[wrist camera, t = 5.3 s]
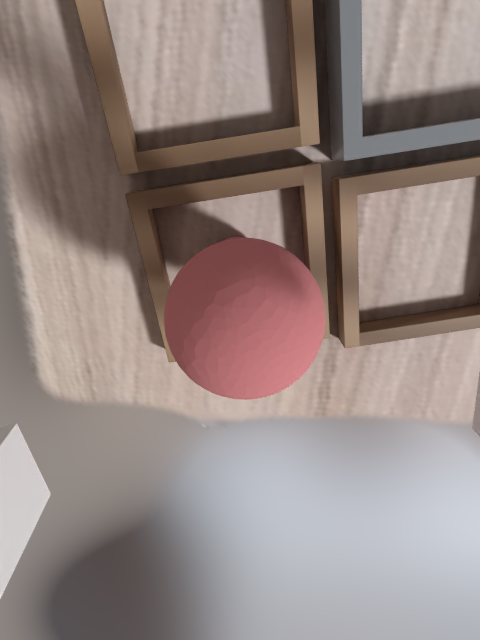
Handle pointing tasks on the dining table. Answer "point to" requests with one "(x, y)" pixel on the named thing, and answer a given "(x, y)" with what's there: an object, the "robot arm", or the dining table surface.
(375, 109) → the dining table surface
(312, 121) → the frame
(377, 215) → the dining table surface
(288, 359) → the light bulb
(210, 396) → the dining table surface
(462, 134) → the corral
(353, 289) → the frame
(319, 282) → the frame
